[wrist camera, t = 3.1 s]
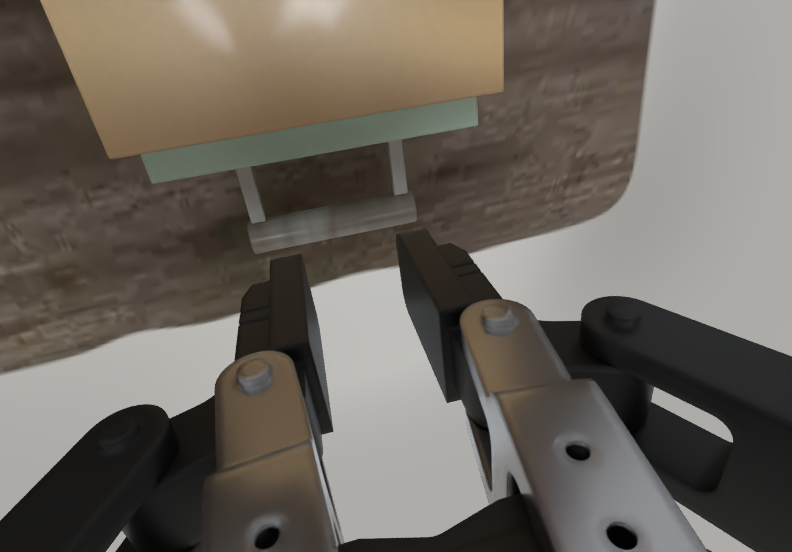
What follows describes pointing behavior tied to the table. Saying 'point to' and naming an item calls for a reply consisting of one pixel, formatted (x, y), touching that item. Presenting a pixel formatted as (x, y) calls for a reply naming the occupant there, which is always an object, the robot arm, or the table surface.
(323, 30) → the cabinet
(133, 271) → the table surface
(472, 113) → the drawer
